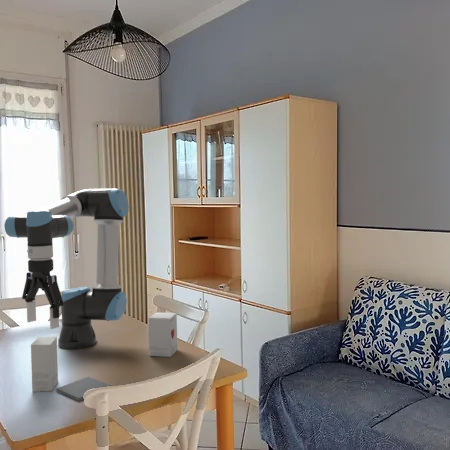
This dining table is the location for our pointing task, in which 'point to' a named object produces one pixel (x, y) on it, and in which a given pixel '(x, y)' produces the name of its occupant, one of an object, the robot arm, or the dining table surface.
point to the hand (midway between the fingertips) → (43, 324)
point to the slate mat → (80, 387)
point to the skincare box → (44, 364)
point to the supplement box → (163, 334)
